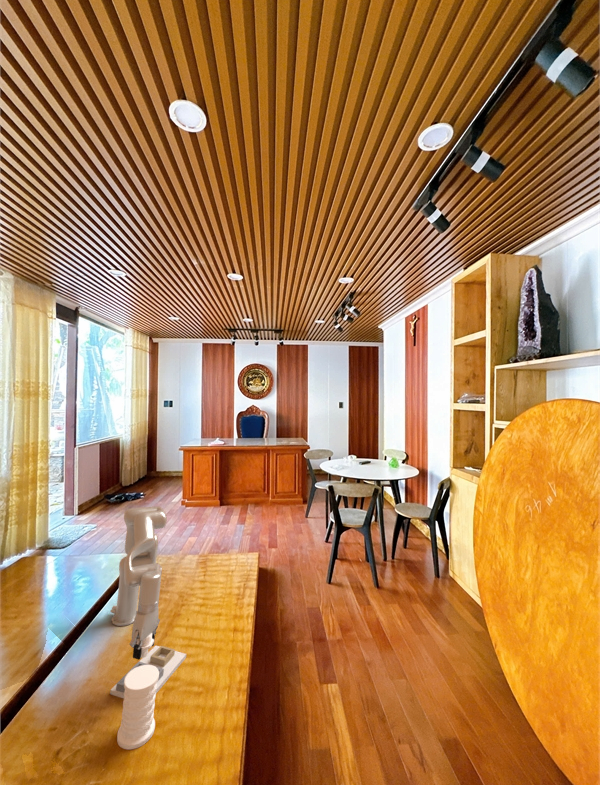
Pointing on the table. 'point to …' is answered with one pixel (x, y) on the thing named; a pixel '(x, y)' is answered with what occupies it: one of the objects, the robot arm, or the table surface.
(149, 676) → the white carved column
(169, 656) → the board
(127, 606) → the robot arm
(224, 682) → the table surface
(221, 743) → the table surface
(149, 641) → the pipe fitting
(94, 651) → the table surface
